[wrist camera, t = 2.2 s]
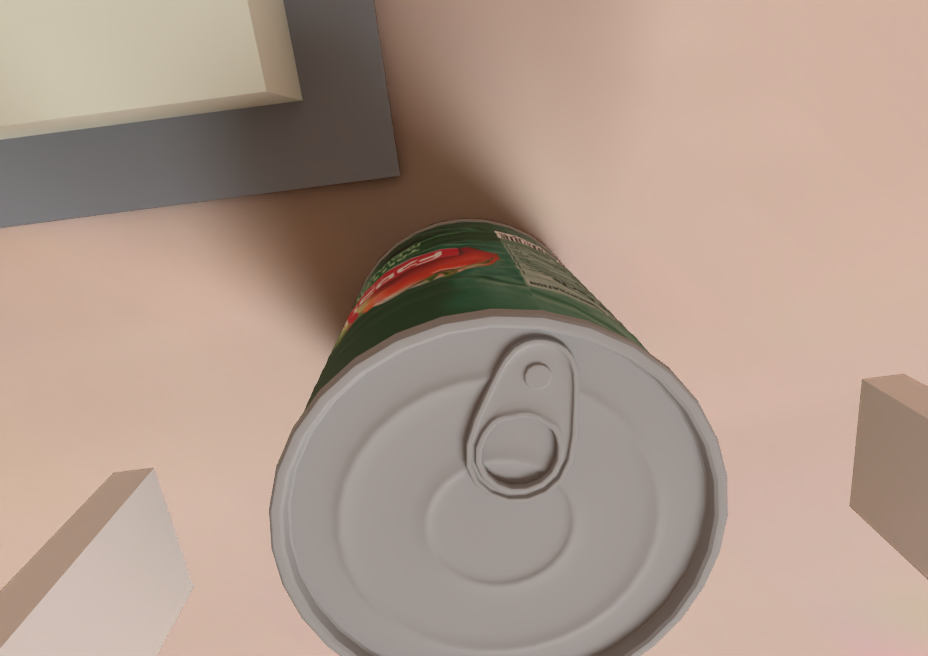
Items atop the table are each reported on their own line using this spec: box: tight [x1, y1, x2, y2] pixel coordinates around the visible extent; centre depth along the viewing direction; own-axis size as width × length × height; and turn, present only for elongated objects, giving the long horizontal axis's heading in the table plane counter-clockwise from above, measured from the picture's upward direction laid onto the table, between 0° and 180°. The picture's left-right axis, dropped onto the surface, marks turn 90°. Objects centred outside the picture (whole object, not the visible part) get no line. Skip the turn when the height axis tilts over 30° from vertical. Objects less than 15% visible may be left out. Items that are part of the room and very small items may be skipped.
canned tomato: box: [269, 219, 728, 656], centre depth 15 cm, size 8×8×11 cm
